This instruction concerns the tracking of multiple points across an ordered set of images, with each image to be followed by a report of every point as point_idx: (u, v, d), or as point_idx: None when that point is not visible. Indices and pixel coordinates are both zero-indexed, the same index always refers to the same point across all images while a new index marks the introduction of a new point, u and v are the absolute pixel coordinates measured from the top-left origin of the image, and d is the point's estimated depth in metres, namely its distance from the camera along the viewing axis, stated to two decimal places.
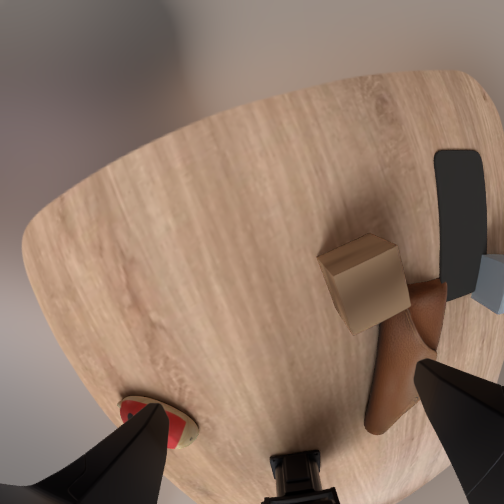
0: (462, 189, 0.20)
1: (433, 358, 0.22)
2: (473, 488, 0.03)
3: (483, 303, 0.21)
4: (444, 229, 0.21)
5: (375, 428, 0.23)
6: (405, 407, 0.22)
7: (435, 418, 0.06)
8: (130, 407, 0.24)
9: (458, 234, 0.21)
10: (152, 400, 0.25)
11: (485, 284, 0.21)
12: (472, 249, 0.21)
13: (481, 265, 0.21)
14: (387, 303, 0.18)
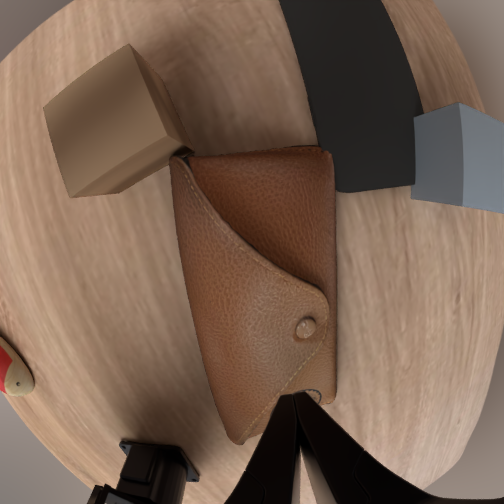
0: (339, 17, 0.11)
1: (316, 305, 0.13)
2: None
3: (432, 198, 0.12)
4: (307, 62, 0.12)
5: (229, 432, 0.15)
6: (266, 403, 0.13)
7: (304, 458, 0.06)
8: None
9: (344, 73, 0.12)
10: None
11: (428, 161, 0.12)
12: (387, 102, 0.13)
13: (416, 134, 0.13)
14: (114, 133, 0.09)
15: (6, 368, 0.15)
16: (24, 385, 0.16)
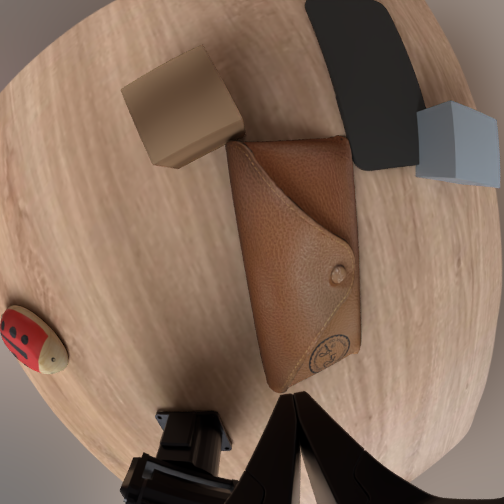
0: (356, 30, 0.14)
1: (345, 255, 0.16)
2: None
3: (432, 174, 0.15)
4: (335, 68, 0.15)
5: (274, 380, 0.18)
6: (309, 343, 0.17)
7: (304, 458, 0.06)
8: (5, 315, 0.19)
9: (363, 77, 0.15)
10: (23, 308, 0.20)
11: (428, 146, 0.15)
12: (397, 100, 0.16)
13: (418, 125, 0.16)
14: (197, 114, 0.12)
15: (41, 344, 0.19)
16: (59, 360, 0.20)
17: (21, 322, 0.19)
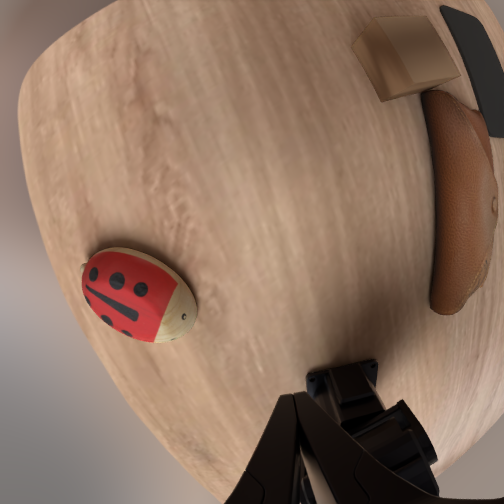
0: (472, 38, 0.13)
1: (496, 192, 0.15)
2: None
3: None
4: (468, 61, 0.14)
5: (450, 301, 0.17)
6: (483, 257, 0.15)
7: (304, 458, 0.06)
8: (96, 260, 0.17)
9: (482, 72, 0.14)
10: (130, 249, 0.18)
11: None
12: (500, 92, 0.15)
13: None
14: (436, 61, 0.11)
15: (169, 294, 0.18)
16: (190, 319, 0.19)
17: (133, 265, 0.17)
